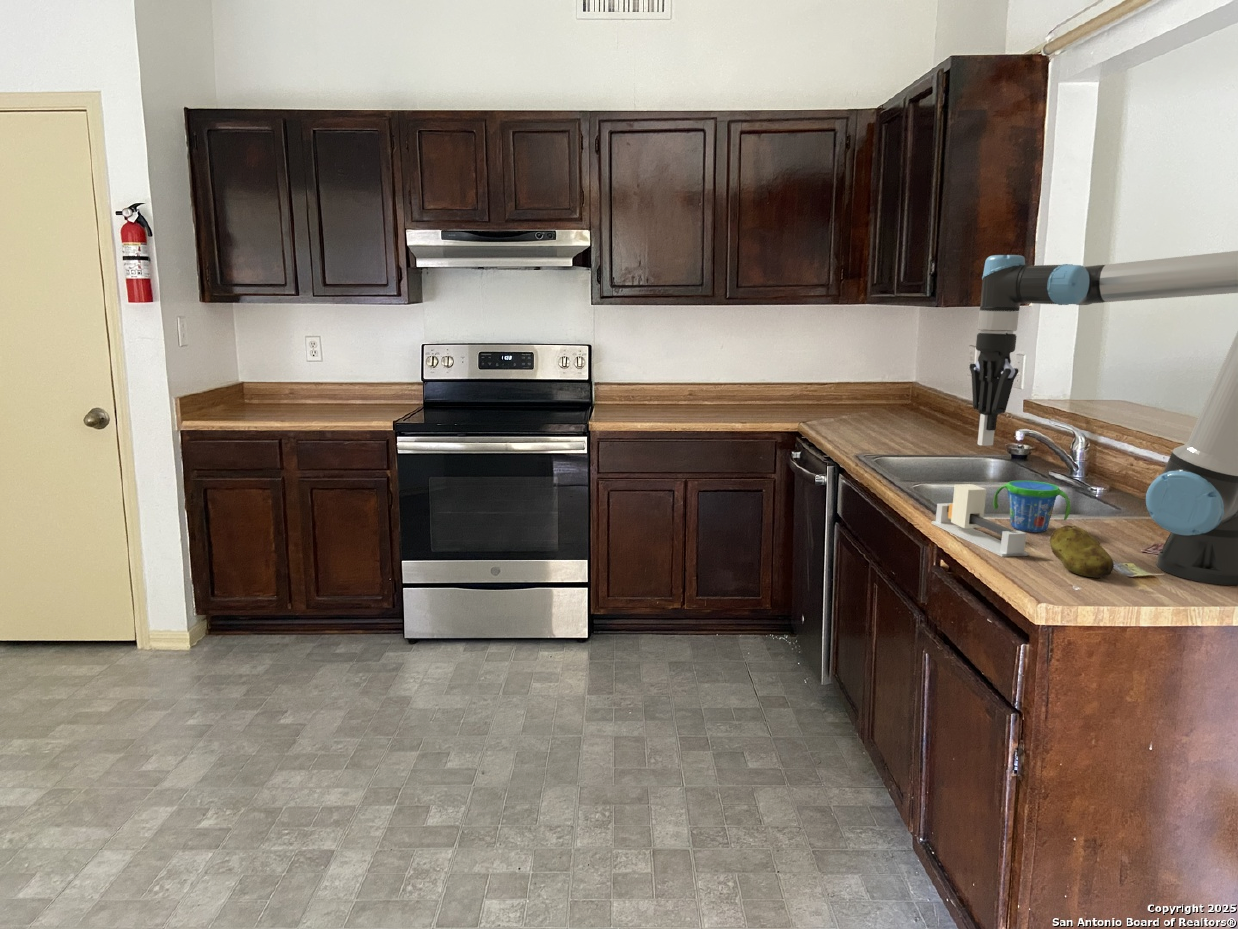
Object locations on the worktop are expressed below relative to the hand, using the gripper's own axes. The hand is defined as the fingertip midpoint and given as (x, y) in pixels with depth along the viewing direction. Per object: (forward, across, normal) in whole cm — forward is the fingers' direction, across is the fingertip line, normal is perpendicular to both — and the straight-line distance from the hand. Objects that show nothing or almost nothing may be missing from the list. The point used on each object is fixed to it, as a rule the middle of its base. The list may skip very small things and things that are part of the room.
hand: (985, 444), depth 181 cm
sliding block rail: (+20, -1, 0) cm, 20 cm away
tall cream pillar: (+18, +3, 0) cm, 19 cm away
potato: (+21, -23, -6) cm, 32 cm away
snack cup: (+21, +5, -17) cm, 27 cm away
